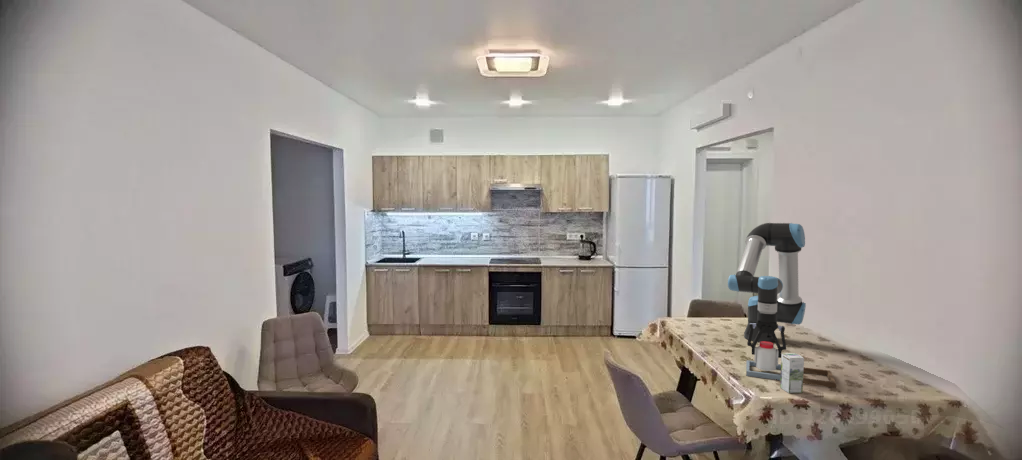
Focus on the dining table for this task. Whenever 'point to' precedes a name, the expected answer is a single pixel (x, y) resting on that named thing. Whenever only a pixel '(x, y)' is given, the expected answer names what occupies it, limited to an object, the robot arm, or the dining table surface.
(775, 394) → the dining table surface
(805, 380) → the walnut frame
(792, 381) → the syrup box
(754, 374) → the slate frame
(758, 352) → the pill bottle
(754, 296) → the robot arm
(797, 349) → the dining table surface
